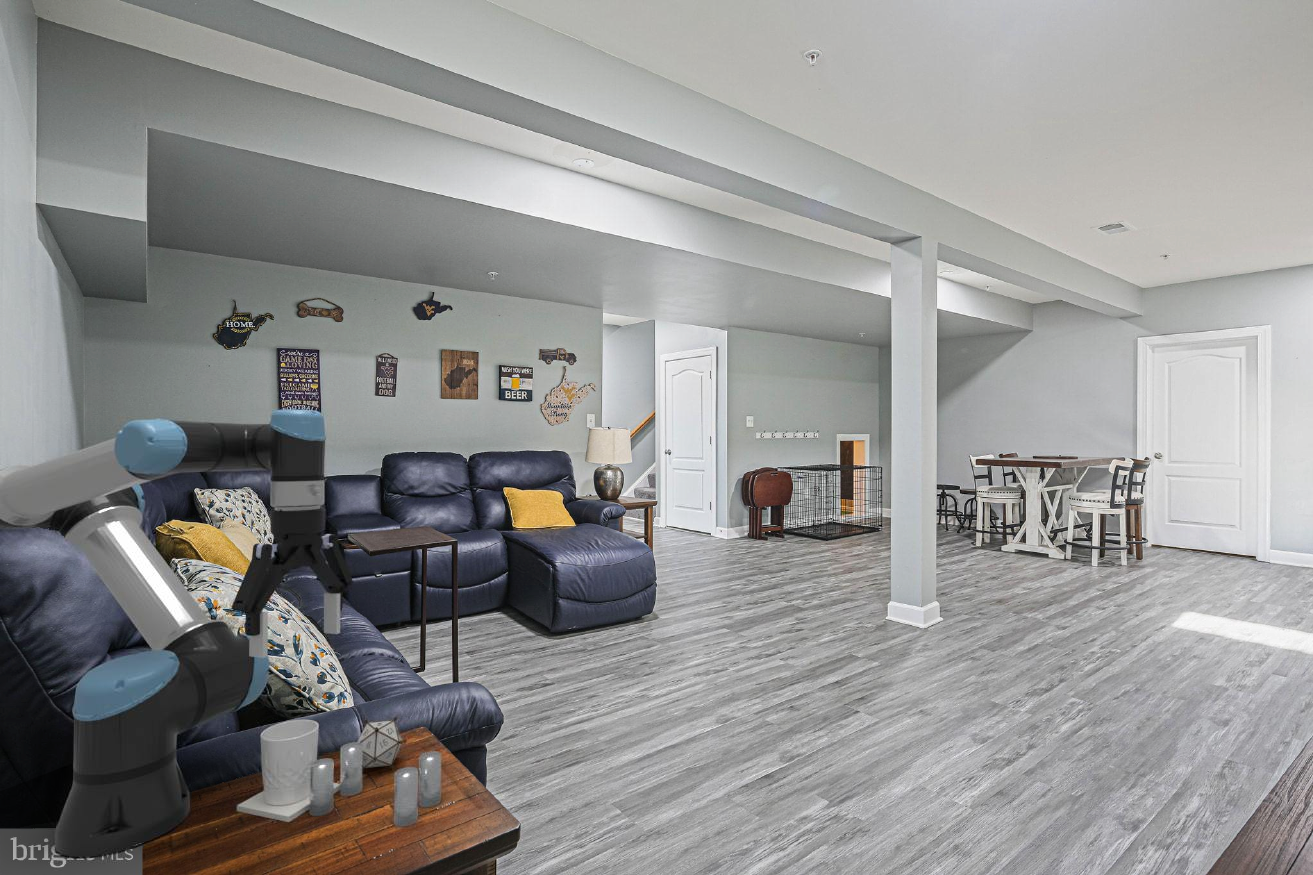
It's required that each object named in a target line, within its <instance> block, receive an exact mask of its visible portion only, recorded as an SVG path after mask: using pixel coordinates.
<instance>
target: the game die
mask: <svg viewBox="0 0 1313 875" xmlns="http://www.w3.org/2000/svg"><path fill="white" fill-rule="evenodd" d="M397 720H398V715H396V716H394V717H393V719H392V720H381V721H370V722H369V720H368V719H367V718H364V723H365V725H364V727H363V729H362V732H361V733H360V735H359V737H358V739H357V741H356V742H360V743H362V744H363V763H362V773H364V772H365V769H369V768H371V769H372V768H380V767H389V766H390V769H391V770H395V766H394V764H393V763H394V761H395V759H396V757H397V755H398V753H399V751H400V750H401V747H402V745H403V743H404V744H406V743H407V742H408V740H407V739H403V738H402V735H401V732H400V730H399V728H398V725H397V723H396V721H397Z"/></svg>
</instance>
